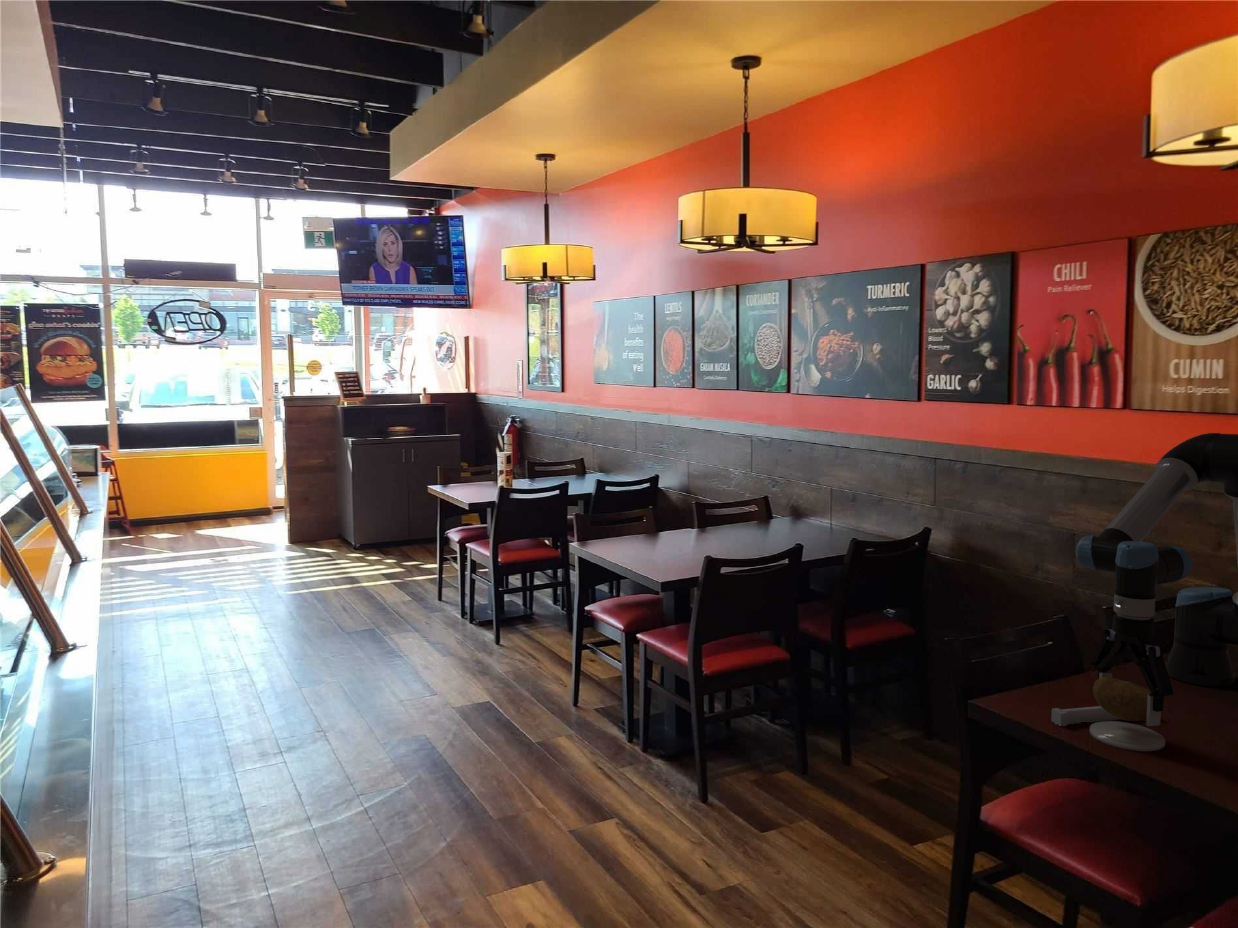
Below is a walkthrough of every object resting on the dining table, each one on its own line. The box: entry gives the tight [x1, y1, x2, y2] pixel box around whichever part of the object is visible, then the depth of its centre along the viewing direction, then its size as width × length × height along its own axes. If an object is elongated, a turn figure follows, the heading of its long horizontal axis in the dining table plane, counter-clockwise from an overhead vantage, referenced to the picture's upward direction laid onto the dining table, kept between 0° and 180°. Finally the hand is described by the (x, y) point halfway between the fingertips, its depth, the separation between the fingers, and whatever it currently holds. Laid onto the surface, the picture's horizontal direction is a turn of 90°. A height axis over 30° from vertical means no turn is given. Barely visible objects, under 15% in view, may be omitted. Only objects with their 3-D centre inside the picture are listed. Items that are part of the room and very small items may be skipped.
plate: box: [1089, 720, 1166, 752], centre depth 187 cm, size 14×14×1 cm
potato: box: [1092, 677, 1168, 722], centre depth 186 cm, size 10×14×8 cm
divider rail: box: [1050, 705, 1120, 727], centre depth 196 cm, size 24×3×3 cm, turn 101°
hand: (1127, 712), depth 186 cm, fingers closed on potato, 13 cm apart
